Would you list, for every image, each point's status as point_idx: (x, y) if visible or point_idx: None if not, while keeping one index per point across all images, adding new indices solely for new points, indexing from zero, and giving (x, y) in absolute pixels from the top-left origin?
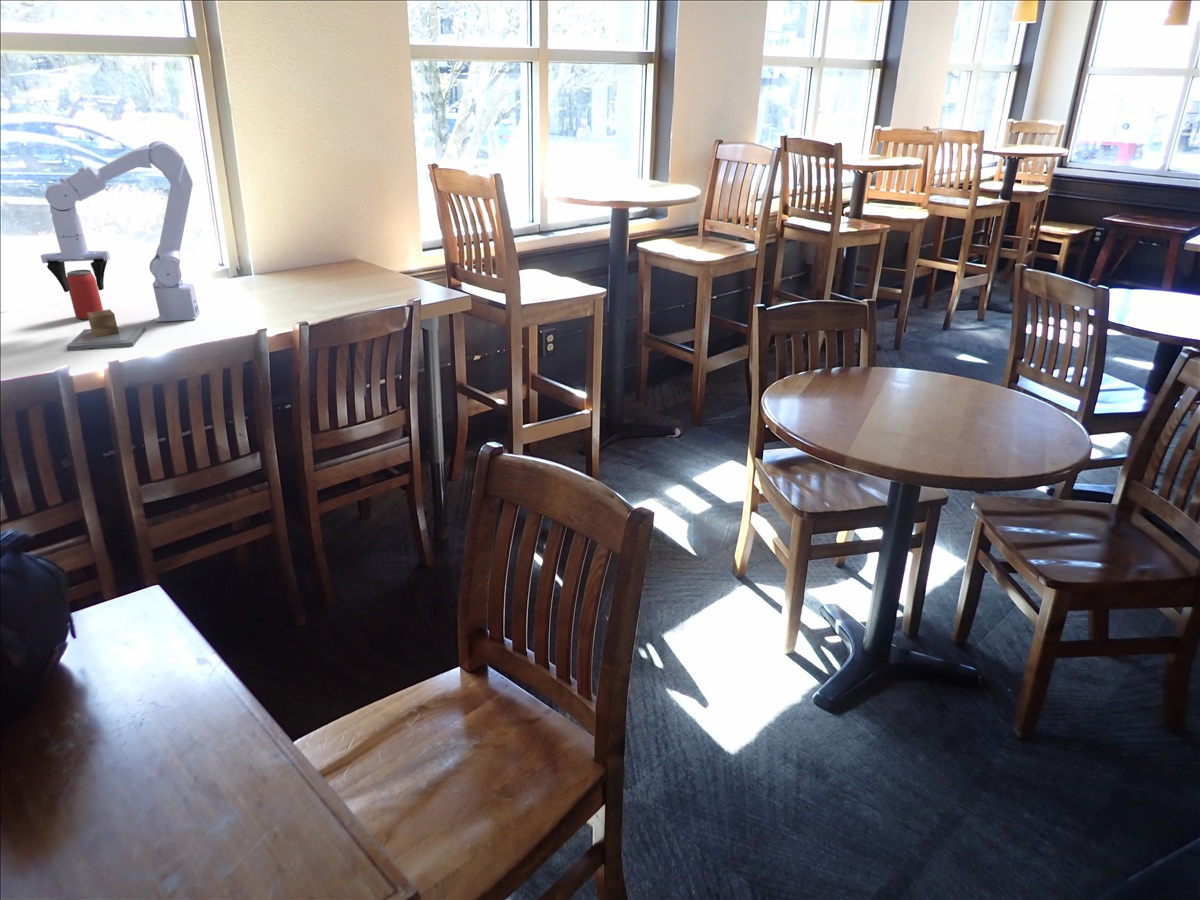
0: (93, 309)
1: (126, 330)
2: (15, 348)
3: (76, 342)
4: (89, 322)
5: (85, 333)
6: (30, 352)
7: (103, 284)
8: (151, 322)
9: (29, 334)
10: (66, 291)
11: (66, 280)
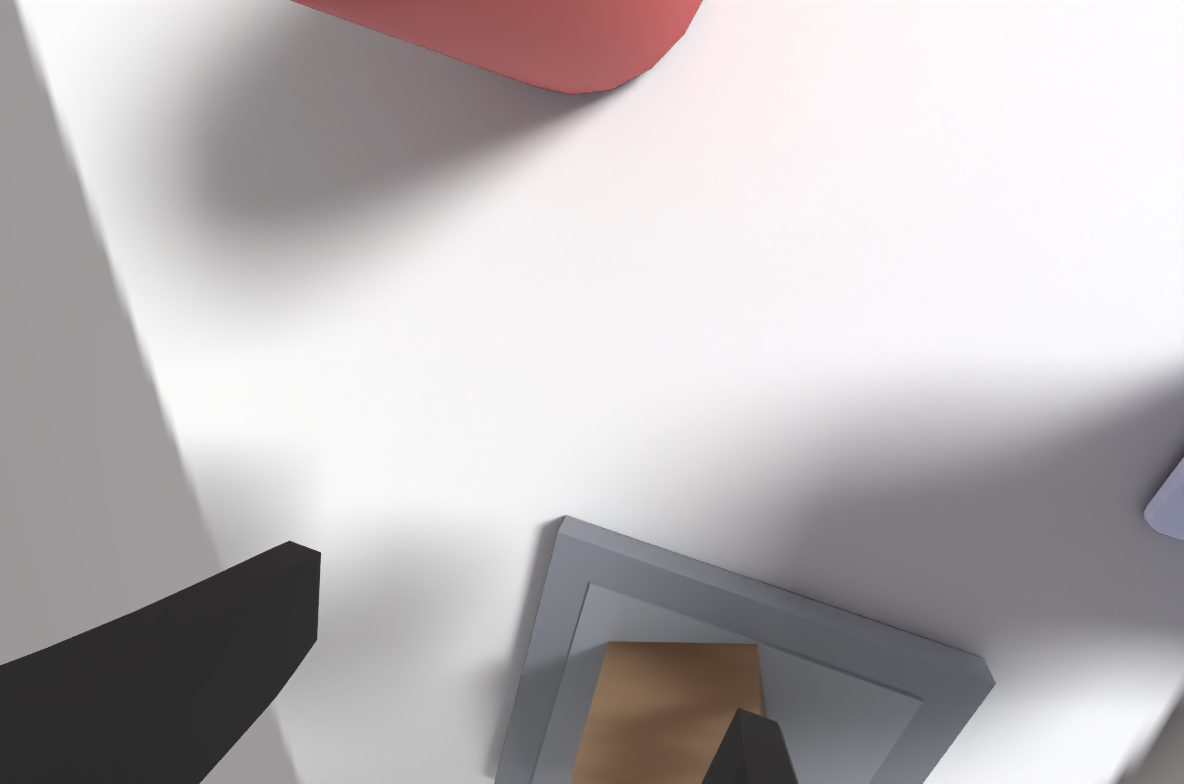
0: (617, 69)
1: (830, 726)
2: None
3: (532, 761)
4: (592, 704)
5: (569, 628)
6: (339, 695)
7: (796, 779)
8: (1097, 480)
9: (234, 347)
10: (302, 643)
11: (186, 679)
